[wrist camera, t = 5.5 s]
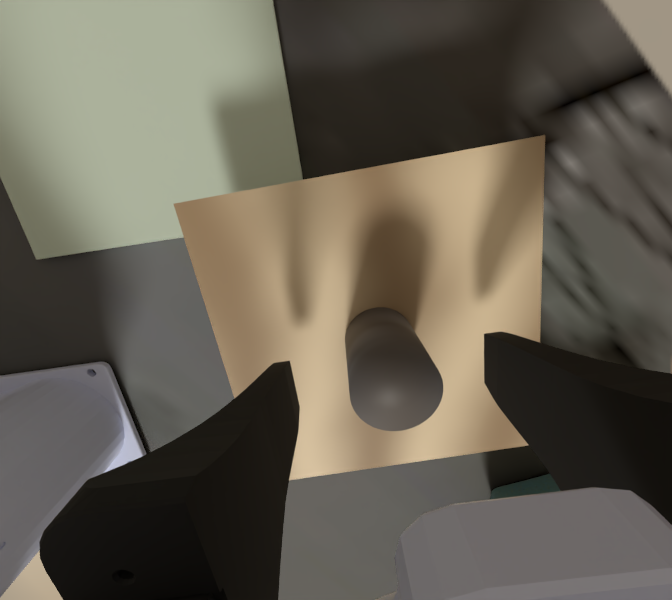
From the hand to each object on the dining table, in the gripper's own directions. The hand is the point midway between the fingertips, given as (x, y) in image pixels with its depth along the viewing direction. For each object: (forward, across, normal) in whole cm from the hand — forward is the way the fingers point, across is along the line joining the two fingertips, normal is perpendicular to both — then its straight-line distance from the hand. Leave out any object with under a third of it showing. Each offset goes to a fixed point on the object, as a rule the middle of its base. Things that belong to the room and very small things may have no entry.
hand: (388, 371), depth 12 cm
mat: (+7, +10, -13) cm, 18 cm away
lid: (+3, 0, 0) cm, 3 cm away
